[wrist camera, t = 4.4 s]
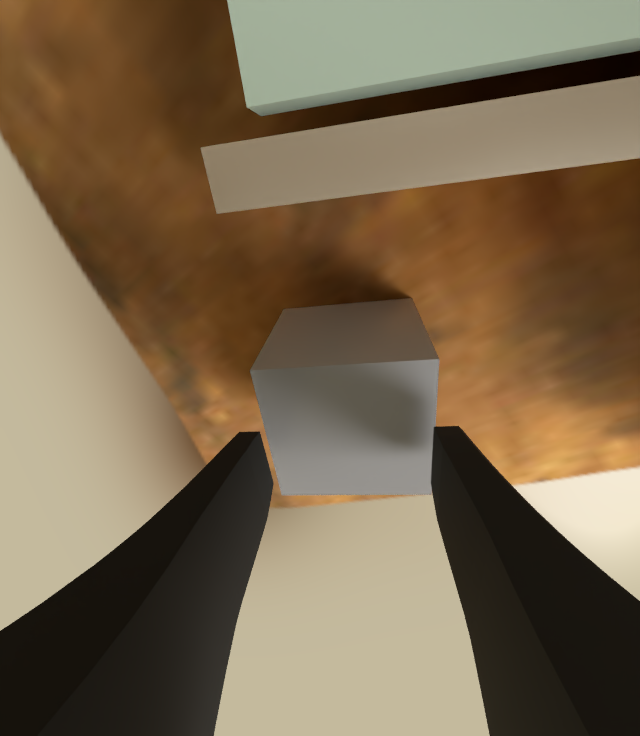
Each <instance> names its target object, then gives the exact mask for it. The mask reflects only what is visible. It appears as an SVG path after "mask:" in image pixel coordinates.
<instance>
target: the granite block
mask: <svg viewBox="0 0 640 736" xmlns="http://www.w3.org/2000/svg"><path fill="white" fill-rule="evenodd" d="M438 372H439V357H438V355H437V353H436V351H435V348H434V346H433V344H432V342H431V340H430V337H429V335H428V333H427V331H426V328H425V326H424V324H423V322H422V320H421V317H420V315H419V313H418V311H417V308H416V306H415V304H414V302H413V299H412V298H407V299H395V300H383V301H371V302H359V303H347V304H336V305H324V306H312V307H300V308H288V309H283V311H282V313H281V315H280V317H279V318H278V320H277V322H276V324H275V326H274V327H273V329H272V331H271V333H270V335H269V337H268V338H267V340H266V342H265V344H264V346H263V347H262V349H261V351H260V353H259V355H258V357H257V358H256V360H255V362H254V364H253V366H252V367H251V369H250V373H251V377H252V381H253V385H254V389H255V392H256V396H257V400H258V404H259V408H260V412H261V416H262V420H263V424H264V427H265V431H266V435H267V439H268V443H269V447H270V451H271V455H272V459H273V463H274V466H275V470H276V474H277V478H278V482H279V486H280V490H281V494H282V495H431V494H432V487H431V468H432V450H433V431H434V427H435V424H436V407H437V390H438Z"/></svg>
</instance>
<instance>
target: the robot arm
mask: <svg viewBox="0 0 640 736" xmlns="http://www.w3.org/2000/svg"><path fill="white" fill-rule="evenodd" d="M431 487H432V493H433V498H434V504H435V510H436V515H437V521H438V524H439V528H440V532H441V535H442V539H443V542H444V546H445V549H446V553H447V556H448V560H449V563H450V566H451V570H452V573H453V577H454V580H455V584H456V587H457V590H458V594H459V598H460V601H461V604H462V608H463V611H464V615H465V619H466V623H467V627H468V631H469V635H470V639H471V644H472V648H473V653H474V658H475V663H476V668H477V673H478V678H479V683H480V688H481V693H482V698H483V703H484V708H485V713H486V718H487V724H488V729H489V734H490V736H640V601H639V600H638V599H636V598H635V597H634V596H633V595H631V594H630V593H629V592H628V591H627V590H625V589H624V588H623V587H622V586H620V585H619V584H618V583H617V582H616V581H614V580H613V579H612V578H611V577H609V576H608V575H607V574H606V573H605V572H604V571H602V570H601V569H600V568H599V567H598V566H597V565H595V564H594V563H593V562H592V561H591V560H590V559H588V558H587V557H586V556H585V555H584V554H583V553H581V552H580V551H579V550H578V549H577V548H576V547H575V546H574V545H573V544H571V543H570V542H569V541H568V540H567V539H566V538H565V537H564V536H563V535H562V534H560V533H559V532H558V531H557V530H556V529H555V528H554V527H553V526H552V525H551V524H550V523H549V522H548V521H547V520H546V519H545V518H544V517H542V516H541V515H540V514H539V513H538V512H537V511H536V510H535V509H534V508H533V507H532V506H531V505H530V504H529V503H528V502H527V501H526V500H525V499H524V498H523V497H522V496H521V495H520V494H519V493H518V492H517V490H516V489H514V487H513V486H512V485H511V484H510V483H509V482H508V481H507V480H506V479H505V478H504V477H503V476H502V475H501V474H500V473H499V471H498V470H497V469H496V468H495V467H494V466H493V465H492V464H491V463H490V461H489V460H488V459H487V458H486V457H485V456H484V455H483V454H482V452H481V451H480V450H479V449H478V448H477V447H476V445H475V444H474V443H473V442H472V441H471V439H470V438H469V437H468V436H467V435H466V433H465V432H464V431H463V430H462V429H461V428H460V427H459V426H445V427H434V431H433V450H432V468H431ZM272 489H273V479H272V476H271V472H270V468H269V464H268V461H267V457H266V453H265V449H264V446H263V442H262V438H261V434H260V432H239V433H238V434H237V435H236V436H235V437H234V438H233V439H232V440H231V441H230V442H229V443H228V444H227V445H226V446H225V447H224V448H223V449H222V450H221V451H220V452H219V453H218V454H217V455H216V456H215V457H214V458H213V459H212V460H211V461H210V462H209V463H208V464H207V465H206V466H205V467H204V468H203V469H202V470H201V471H200V472H199V473H198V474H197V475H196V477H194V478H193V479H192V480H191V481H190V482H189V484H187V486H185V487H184V488H183V489H182V490H181V491H180V492H179V493H178V494H177V495H176V496H175V497H174V498H173V499H172V500H170V501H169V502H168V503H167V504H166V505H165V506H164V507H163V508H162V509H161V510H160V511H159V512H157V513H156V514H155V515H154V516H153V517H152V518H151V519H150V520H149V521H148V522H146V523H145V524H144V525H143V526H142V527H141V528H140V529H138V530H137V531H136V532H135V533H134V534H132V535H131V536H130V537H129V538H128V539H126V540H125V541H124V542H123V543H121V544H120V545H119V546H118V547H117V548H115V549H114V550H113V551H112V552H110V553H109V554H108V555H107V556H105V557H104V558H103V559H101V560H100V561H99V562H97V563H96V564H95V565H94V566H92V567H91V568H90V569H88V570H87V571H85V572H84V573H83V574H81V575H80V576H79V577H77V578H76V579H74V580H73V581H72V582H70V583H69V584H67V585H66V586H65V587H64V588H62V589H61V590H59V591H58V592H57V593H55V594H54V595H52V596H51V597H50V598H48V599H47V600H45V601H44V602H43V603H41V604H40V605H38V606H37V607H35V608H34V609H32V610H31V611H29V612H28V613H27V614H25V615H24V616H22V617H20V618H19V619H18V620H16V621H15V622H13V623H12V624H10V625H9V626H7V627H5V628H4V629H2V630H1V631H0V736H214V731H215V724H216V720H217V715H218V709H219V704H220V699H221V694H222V689H223V684H224V679H225V674H226V669H227V664H228V659H229V655H230V650H231V645H232V640H233V636H234V631H235V626H236V622H237V618H238V615H239V611H240V607H241V604H242V600H243V597H244V594H245V590H246V587H247V584H248V581H249V577H250V574H251V571H252V568H253V564H254V561H255V558H256V554H257V551H258V548H259V545H260V541H261V538H262V535H263V531H264V528H265V524H266V521H267V517H268V511H269V507H270V501H271V495H272Z"/></svg>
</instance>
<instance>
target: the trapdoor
mask: <svg viewBox="0 0 640 736" xmlns="http://www.w3.org/2000/svg"><path fill="white" fill-rule="evenodd" d="M227 2H228V8H229V13H230V19H231V24H232V30H233V35H234V41H235V46H236V52H237V57H238V63H239V68H240V73H241V79H242V84H243V90H244V95H245V101H246V106H247V108H249V109H250V110H252V111H253V112H255V113H257V114H258V115H260V116H266V115H271V114H277V113H283V112H289V111H295V110H300V109H306V108H312V107H318V106H323V105H329V104H335V103H341V102H347V101H352V100H358V99H364V98H370V97H375V96H381V95H387V94H393V93H399V92H404V91H410V90H416V89H422V88H427V87H433V86H439V85H445V84H451V83H456V82H462V81H468V80H474V79H479V78H485V77H491V76H497V75H503V74H508V73H514V72H520V71H526V70H531V69H537V68H543V67H549V66H555V65H560V64H566V63H572V62H578V61H583V60H589V59H595V58H601V57H606V56H612V55H618V54H624V53H630V52H635V51H640V0H227Z"/></svg>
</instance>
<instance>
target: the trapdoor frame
mask: <svg viewBox="0 0 640 736" xmlns="http://www.w3.org/2000/svg"><path fill="white" fill-rule="evenodd" d="M200 148H201V152H202V156H203V160H204V164H205V169H206V173H207V177H208V181H209V185H210V189H211V193H212V197H213V201H214V205H215V209H216V213H217V214H220V213H228V212H235V211H243V210H250V209H258V208H265V207H273V206H281V205H288V204H296V203H303V202H311V201H319V200H326V199H334V198H341V197H349V196H357V195H364V194H372V193H379V192H387V191H395V190H402V189H410V188H417V187H425V186H433V185H440V184H448V183H455V182H463V181H471V180H478V179H486V178H493V177H501V176H509V175H516V174H524V173H531V172H539V171H547V170H554V169H562V168H569V167H577V166H585V165H592V164H600V163H607V162H615V161H623V160H630V159H638V158H640V76H635V77H628V78H622V79H616V80H610V81H604V82H598V83H592V84H586V85H579V86H573V87H567V88H561V89H555V90H549V91H543V92H537V93H531V94H524V95H518V96H512V97H506V98H500V99H494V100H488V101H482V102H476V103H469V104H463V105H457V106H451V107H445V108H439V109H433V110H427V111H420V112H414V113H408V114H402V115H396V116H390V117H384V118H378V119H372V120H365V121H359V122H353V123H347V124H341V125H335V126H329V127H323V128H317V129H310V130H304V131H298V132H292V133H286V134H280V135H274V136H268V137H261V138H255V139H249V140H243V141H237V142H231V143H225V144H219V145H213V146H206V147H200Z"/></svg>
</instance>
